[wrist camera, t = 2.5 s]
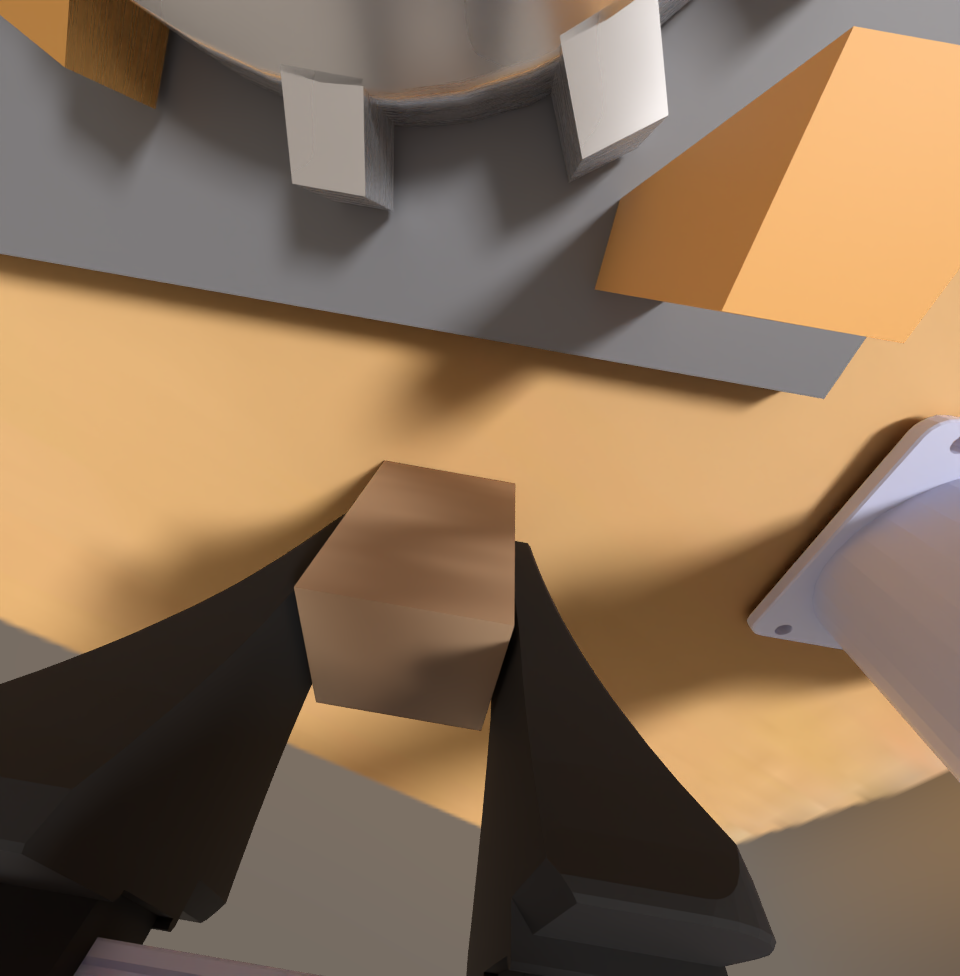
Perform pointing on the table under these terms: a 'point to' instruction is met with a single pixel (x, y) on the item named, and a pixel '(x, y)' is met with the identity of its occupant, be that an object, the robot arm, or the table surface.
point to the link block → (414, 597)
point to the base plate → (546, 197)
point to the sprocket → (386, 69)
